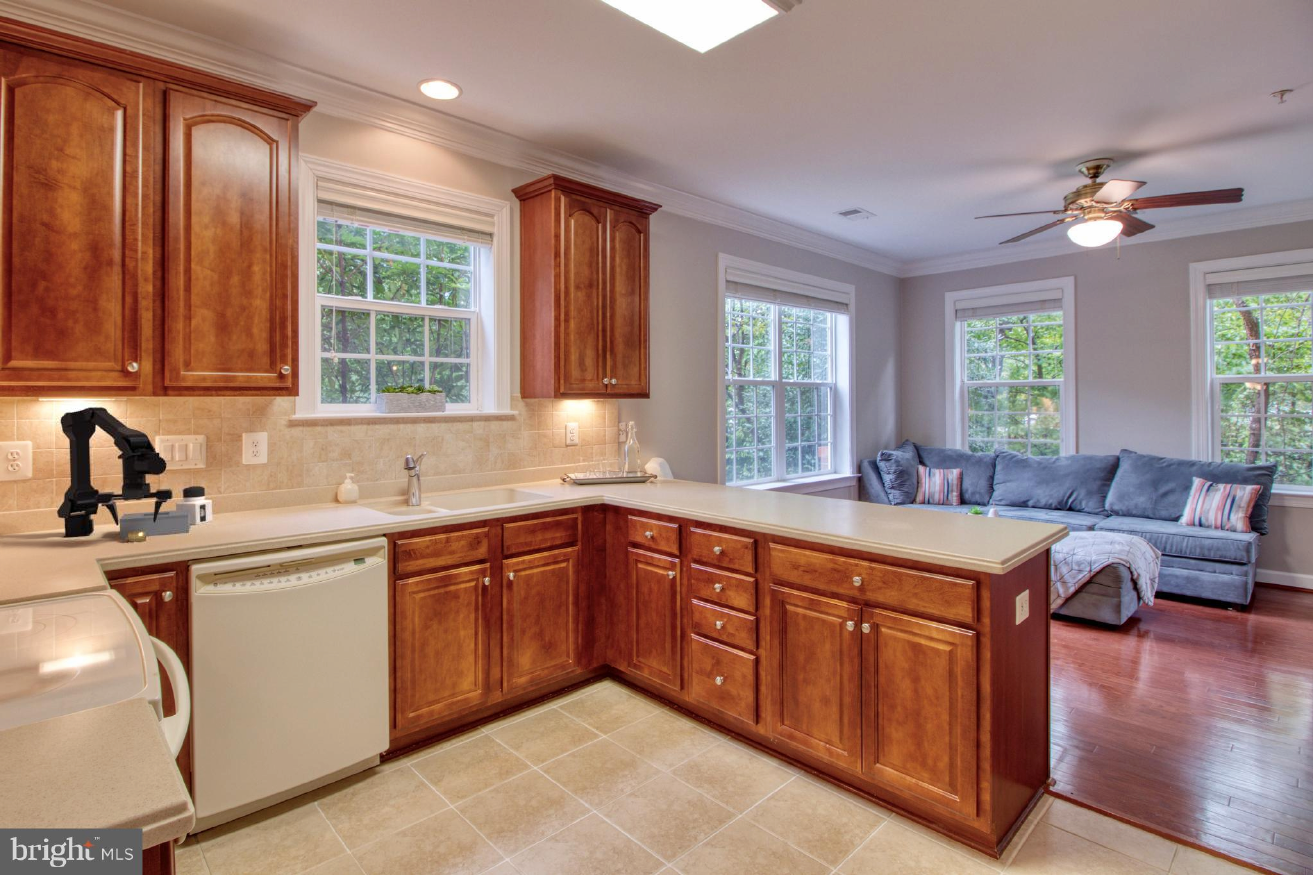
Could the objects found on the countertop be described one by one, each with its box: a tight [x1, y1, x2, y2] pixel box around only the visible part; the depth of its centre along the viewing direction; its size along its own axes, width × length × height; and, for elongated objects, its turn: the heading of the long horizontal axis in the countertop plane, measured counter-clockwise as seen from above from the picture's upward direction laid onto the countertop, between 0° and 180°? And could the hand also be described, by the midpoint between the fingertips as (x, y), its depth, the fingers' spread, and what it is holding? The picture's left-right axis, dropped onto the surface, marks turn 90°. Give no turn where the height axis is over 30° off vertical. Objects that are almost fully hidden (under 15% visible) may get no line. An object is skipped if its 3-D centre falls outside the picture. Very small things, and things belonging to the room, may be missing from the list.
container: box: [175, 485, 213, 526], centre depth 245 cm, size 8×8×13 cm
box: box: [118, 509, 191, 539], centre depth 228 cm, size 18×12×6 cm, turn 122°
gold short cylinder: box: [127, 531, 147, 544], centre depth 214 cm, size 4×4×3 cm
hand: (136, 523), depth 214 cm, fingers open, 9 cm apart
